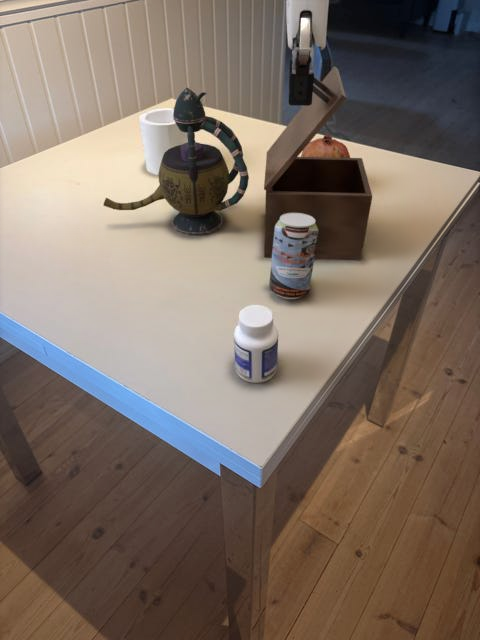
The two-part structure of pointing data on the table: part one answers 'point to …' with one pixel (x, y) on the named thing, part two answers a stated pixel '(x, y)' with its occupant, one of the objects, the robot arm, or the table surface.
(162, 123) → the mug
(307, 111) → the lid
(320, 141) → the fruit
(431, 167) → the table surface
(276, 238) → the beverage can
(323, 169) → the chest
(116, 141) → the table surface
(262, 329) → the pill bottle
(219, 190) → the teapot
